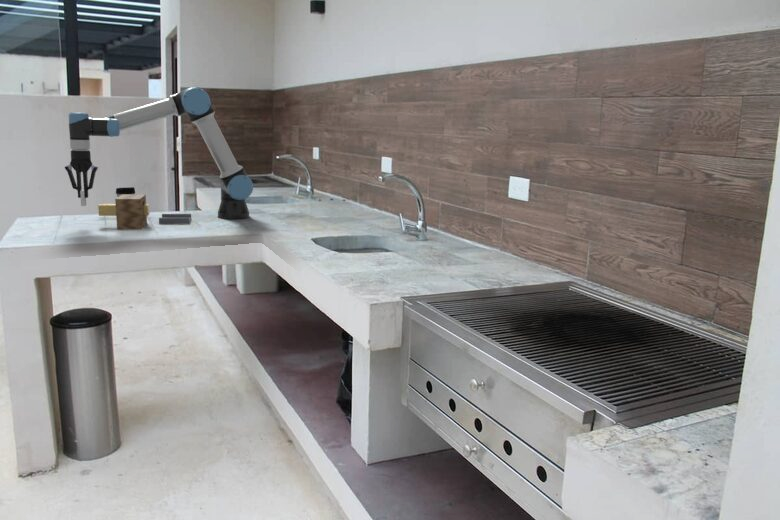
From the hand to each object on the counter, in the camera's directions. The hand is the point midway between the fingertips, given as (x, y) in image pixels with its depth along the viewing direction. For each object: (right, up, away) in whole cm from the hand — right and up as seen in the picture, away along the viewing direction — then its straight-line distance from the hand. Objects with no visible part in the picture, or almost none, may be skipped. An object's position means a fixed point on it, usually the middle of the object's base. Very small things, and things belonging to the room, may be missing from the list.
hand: (83, 205), depth 279 cm
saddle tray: (+32, -6, +22) cm, 39 cm away
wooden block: (+18, -9, +6) cm, 21 cm away
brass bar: (+16, -4, +5) cm, 17 cm away
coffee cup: (+10, -5, +22) cm, 25 cm away
